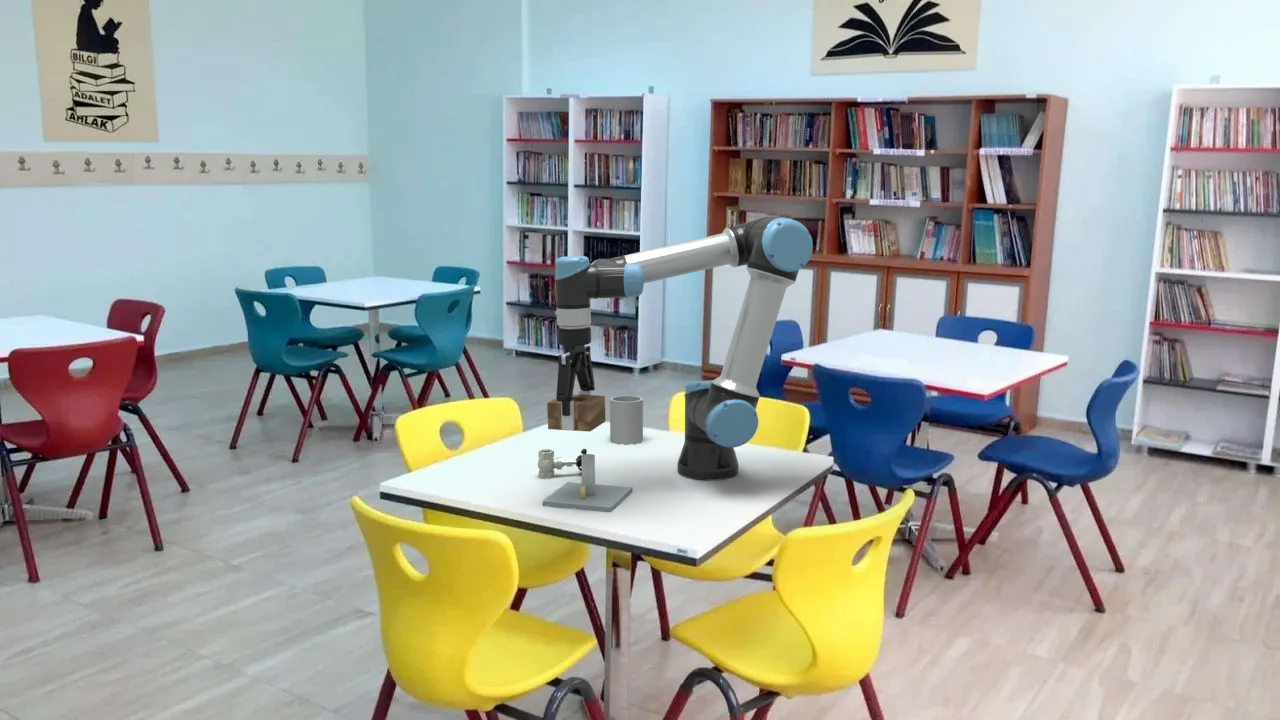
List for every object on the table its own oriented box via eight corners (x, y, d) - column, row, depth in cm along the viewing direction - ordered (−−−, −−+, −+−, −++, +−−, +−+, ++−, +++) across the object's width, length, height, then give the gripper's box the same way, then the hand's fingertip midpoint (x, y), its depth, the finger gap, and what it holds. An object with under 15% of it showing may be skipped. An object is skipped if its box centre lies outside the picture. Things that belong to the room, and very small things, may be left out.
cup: (607, 444, 284) (607, 401, 283) (613, 436, 293) (613, 395, 291) (640, 445, 283) (640, 402, 281) (645, 437, 292) (645, 396, 290)
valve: (539, 481, 249) (588, 478, 251) (539, 454, 248) (588, 452, 250) (536, 474, 255) (584, 471, 257) (536, 448, 254) (584, 445, 256)
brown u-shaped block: (605, 421, 236) (604, 395, 235) (590, 431, 226) (589, 404, 225) (564, 419, 239) (564, 393, 238) (548, 429, 229) (547, 402, 228)
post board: (632, 491, 240) (632, 449, 238) (610, 512, 225) (610, 467, 223) (567, 485, 244) (567, 444, 243) (542, 505, 229) (541, 461, 227)
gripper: (576, 319, 241) (579, 412, 244) (538, 333, 219) (541, 435, 223) (606, 320, 238) (609, 414, 242) (570, 334, 217) (574, 436, 221)
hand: (577, 424), depth 233 cm, fingers closed on brown u-shaped block, 10 cm apart
